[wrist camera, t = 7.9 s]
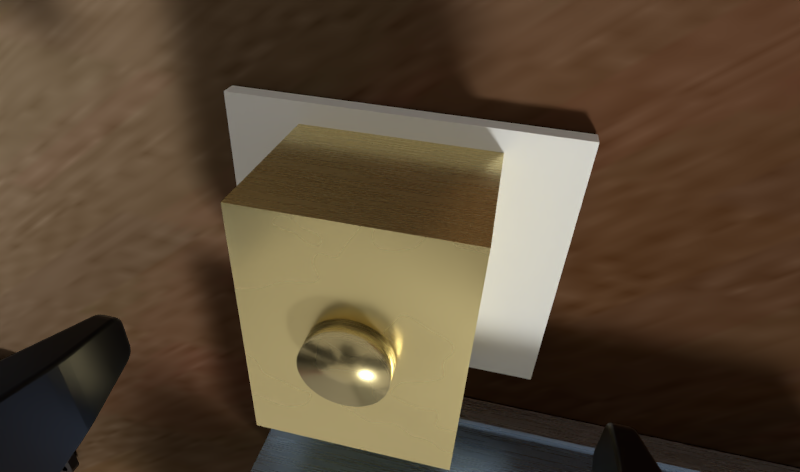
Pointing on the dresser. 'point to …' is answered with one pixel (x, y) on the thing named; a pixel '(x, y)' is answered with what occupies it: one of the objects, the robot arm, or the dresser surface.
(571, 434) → the light blue box
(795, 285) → the dresser surface
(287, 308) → the yellow knobbed box
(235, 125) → the felt mat
